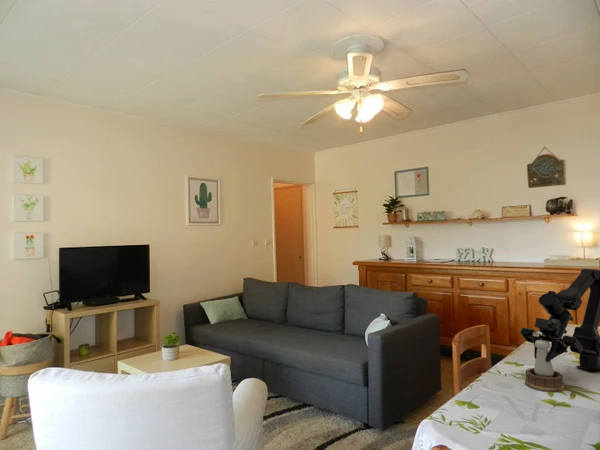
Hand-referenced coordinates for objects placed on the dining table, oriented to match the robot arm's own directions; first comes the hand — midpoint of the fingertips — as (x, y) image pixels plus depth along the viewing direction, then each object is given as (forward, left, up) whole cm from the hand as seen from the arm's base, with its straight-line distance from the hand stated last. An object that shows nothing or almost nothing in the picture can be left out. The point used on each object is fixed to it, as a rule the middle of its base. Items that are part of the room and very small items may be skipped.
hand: (540, 360), depth 136 cm
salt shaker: (-1, 0, -7) cm, 7 cm away
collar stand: (-1, 0, -9) cm, 9 cm away
